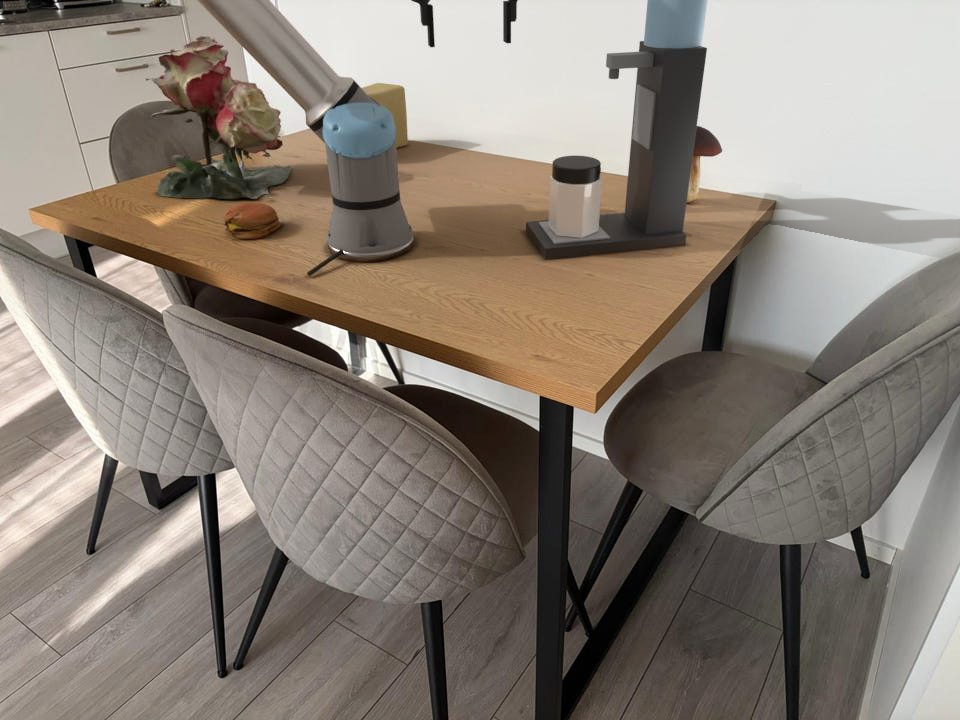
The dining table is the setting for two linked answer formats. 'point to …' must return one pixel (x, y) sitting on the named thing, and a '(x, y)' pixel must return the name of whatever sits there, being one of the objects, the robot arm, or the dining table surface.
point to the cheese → (392, 106)
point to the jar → (575, 196)
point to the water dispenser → (651, 138)
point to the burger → (251, 220)
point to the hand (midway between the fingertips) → (469, 44)
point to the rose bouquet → (219, 125)
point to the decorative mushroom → (705, 147)
